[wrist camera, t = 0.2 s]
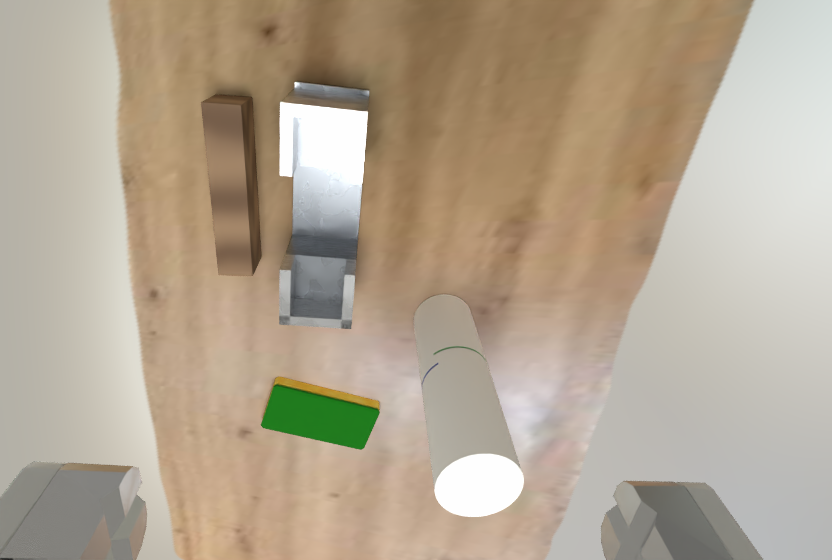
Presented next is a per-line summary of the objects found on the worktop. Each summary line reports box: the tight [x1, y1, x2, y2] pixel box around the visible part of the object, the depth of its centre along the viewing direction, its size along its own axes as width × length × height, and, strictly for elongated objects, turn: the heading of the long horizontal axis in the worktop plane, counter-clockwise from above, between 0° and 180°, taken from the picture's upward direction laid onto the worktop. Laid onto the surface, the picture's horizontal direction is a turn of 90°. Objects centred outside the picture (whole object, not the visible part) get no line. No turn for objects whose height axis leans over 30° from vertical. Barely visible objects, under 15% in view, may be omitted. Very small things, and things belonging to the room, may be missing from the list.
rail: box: [201, 95, 261, 276], centre depth 52 cm, size 17×3×5 cm, turn 175°
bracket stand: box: [279, 81, 369, 329], centre depth 51 cm, size 22×7×10 cm, turn 173°
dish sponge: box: [261, 377, 380, 450], centre depth 68 cm, size 7×14×2 cm, turn 69°
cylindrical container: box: [414, 294, 524, 517], centre depth 52 cm, size 7×7×25 cm
